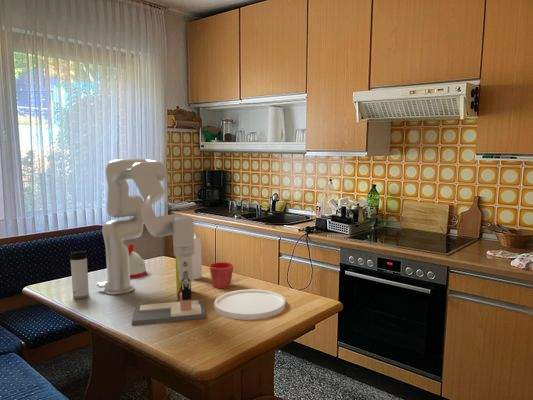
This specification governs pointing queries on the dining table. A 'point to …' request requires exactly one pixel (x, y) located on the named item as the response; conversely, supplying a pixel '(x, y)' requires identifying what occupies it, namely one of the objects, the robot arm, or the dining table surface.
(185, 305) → the cream and peach block
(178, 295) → the food package
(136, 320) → the mat
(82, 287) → the travel mug
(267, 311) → the plate
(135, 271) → the kitchen timer
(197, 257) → the milk
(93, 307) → the dining table surface
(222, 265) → the flower pot
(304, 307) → the dining table surface
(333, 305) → the dining table surface
